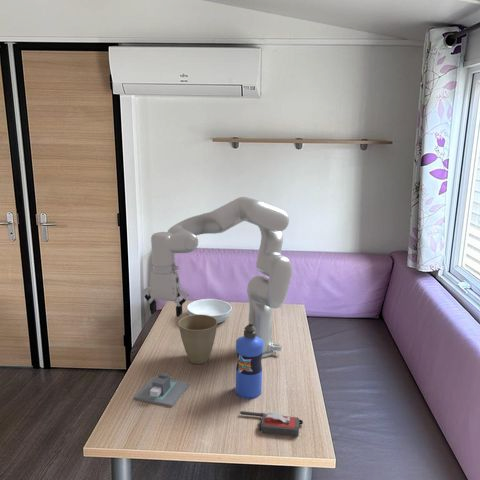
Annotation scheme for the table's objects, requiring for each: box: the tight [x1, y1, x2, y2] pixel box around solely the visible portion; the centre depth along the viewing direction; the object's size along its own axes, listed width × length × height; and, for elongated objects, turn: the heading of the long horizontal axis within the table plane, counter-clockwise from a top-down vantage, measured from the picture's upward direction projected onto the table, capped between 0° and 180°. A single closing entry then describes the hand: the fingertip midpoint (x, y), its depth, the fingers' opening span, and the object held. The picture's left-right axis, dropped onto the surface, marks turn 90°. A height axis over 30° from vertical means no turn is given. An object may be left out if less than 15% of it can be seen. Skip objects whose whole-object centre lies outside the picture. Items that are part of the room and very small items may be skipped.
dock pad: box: [133, 375, 190, 408], centre depth 160 cm, size 14×14×1 cm
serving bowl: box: [186, 298, 233, 324], centre depth 218 cm, size 21×21×7 cm
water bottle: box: [235, 323, 264, 400], centre depth 159 cm, size 9×9×25 cm
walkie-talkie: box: [239, 410, 304, 438], centre depth 144 cm, size 9×4×20 cm
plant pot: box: [178, 314, 218, 365], centre depth 181 cm, size 15×15×16 cm
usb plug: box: [150, 372, 171, 397], centre depth 158 cm, size 10×4×4 cm, turn 163°
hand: (166, 314), depth 164 cm, fingers open, 9 cm apart
